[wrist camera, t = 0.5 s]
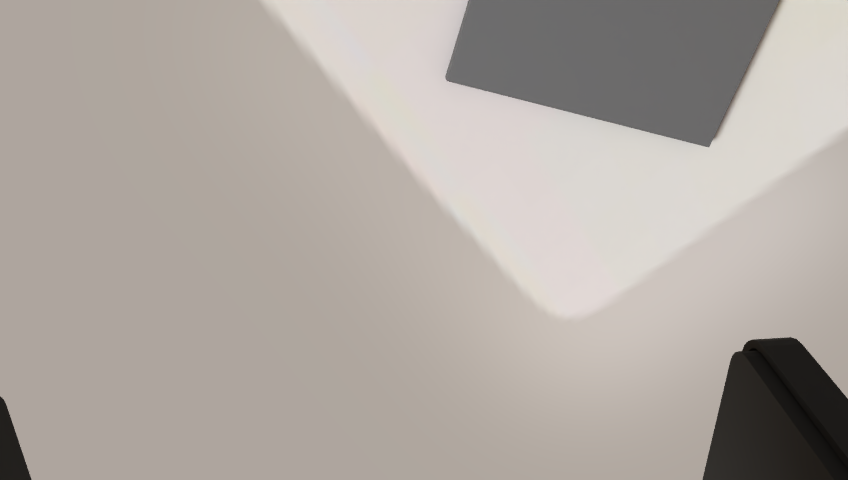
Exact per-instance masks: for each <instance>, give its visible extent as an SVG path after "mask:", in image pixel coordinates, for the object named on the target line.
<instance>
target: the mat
mask: <svg viewBox="0 0 848 480" xmlns="http://www.w3.org/2000/svg"><path fill="white" fill-rule="evenodd" d="M778 2H779V0H469V1H468V5H467V8H466V11H465V14H464V18H463V21H462V24H461V28H460V31H459V34H458V37H457V41H456V44H455V47H454V51H453V54H452V57H451V60H450V64H449V67H448V70H447V74H446V80H447V81H449V82H453V83H457V84H461V85H465V86H469V87H473V88H477V89H481V90H485V91H489V92H493V93H497V94H501V95H505V96H509V97H512V98H516V99H520V100H524V101H528V102H532V103H536V104H540V105H544V106H548V107H552V108H556V109H560V110H564V111H568V112H572V113H576V114H579V115H583V116H587V117H591V118H595V119H599V120H603V121H607V122H611V123H615V124H619V125H623V126H627V127H631V128H635V129H639V130H643V131H647V132H650V133H654V134H658V135H662V136H666V137H670V138H674V139H678V140H682V141H686V142H690V143H694V144H698V145H702V146H706V147H709V146H710V144H711V142H712V140H713V138H714V136H715V133H716V131H717V129H718V127H719V125H720V123H721V121H722V119H723V117H724V115H725V113H726V111H727V108H728V106H729V104H730V102H731V100H732V98H733V96H734V94H735V92H736V90H737V88H738V86H739V83H740V81H741V79H742V77H743V75H744V73H745V71H746V69H747V67H748V65H749V63H750V60H751V58H752V56H753V54H754V52H755V50H756V48H757V46H758V44H759V42H760V40H761V38H762V35H763V33H764V31H765V29H766V27H767V25H768V23H769V21H770V19H771V17H772V15H773V12H774V10H775V8H776V6H777V4H778Z"/></svg>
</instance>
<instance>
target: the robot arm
mask: <svg viewBox="0 0 848 480" xmlns="http://www.w3.org/2000/svg"><path fill="white" fill-rule="evenodd" d="M0 480H31V477H30V474H29V471H28V469H27V465H26V462H25V459H24V456H23V453H22V450H21V447H20V445H19V441H18V438H17V436H16V433H15V429H14V426H13V424H12V421H11V418H10V415H9V412H8V409H7V406H6V403H5V401H4V400H3V399H2V398H1V397H0ZM703 480H848V399H847V398H846V396H845V395H844V394H843V393H842V392H841V390H840V389H839V388H838V387H837V385H836V384H835V383H834V382H833V381H832V380H831V378H830V377H829V376H828V375H827V373H826V372H825V371H824V370H823V369H822V368H821V366H820V365H819V364H818V363H817V361H816V360H815V359H814V358H813V357H812V356H811V354H810V353H809V352H808V351H807V350H806V348H805V347H804V346H803V345H802V344H801V343H800V342H799V341H798V340H797V339H794V338H791V337H790V338H773V339H757V340H750V341H748V342H747V343H746V344H745V345H744V348H743V350H742V351H739V352H735V353H734V355H733V356H732V358H731V361H730V365H729V369H728V374H727V378H726V382H725V386H724V391H723V395H722V399H721V404H720V408H719V412H718V416H717V421H716V425H715V429H714V434H713V438H712V442H711V446H710V451H709V455H708V459H707V463H706V467H705V472H704V476H703Z"/></svg>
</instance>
